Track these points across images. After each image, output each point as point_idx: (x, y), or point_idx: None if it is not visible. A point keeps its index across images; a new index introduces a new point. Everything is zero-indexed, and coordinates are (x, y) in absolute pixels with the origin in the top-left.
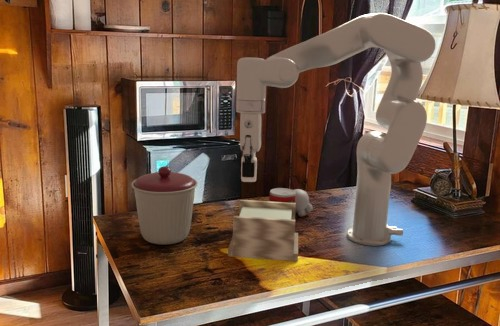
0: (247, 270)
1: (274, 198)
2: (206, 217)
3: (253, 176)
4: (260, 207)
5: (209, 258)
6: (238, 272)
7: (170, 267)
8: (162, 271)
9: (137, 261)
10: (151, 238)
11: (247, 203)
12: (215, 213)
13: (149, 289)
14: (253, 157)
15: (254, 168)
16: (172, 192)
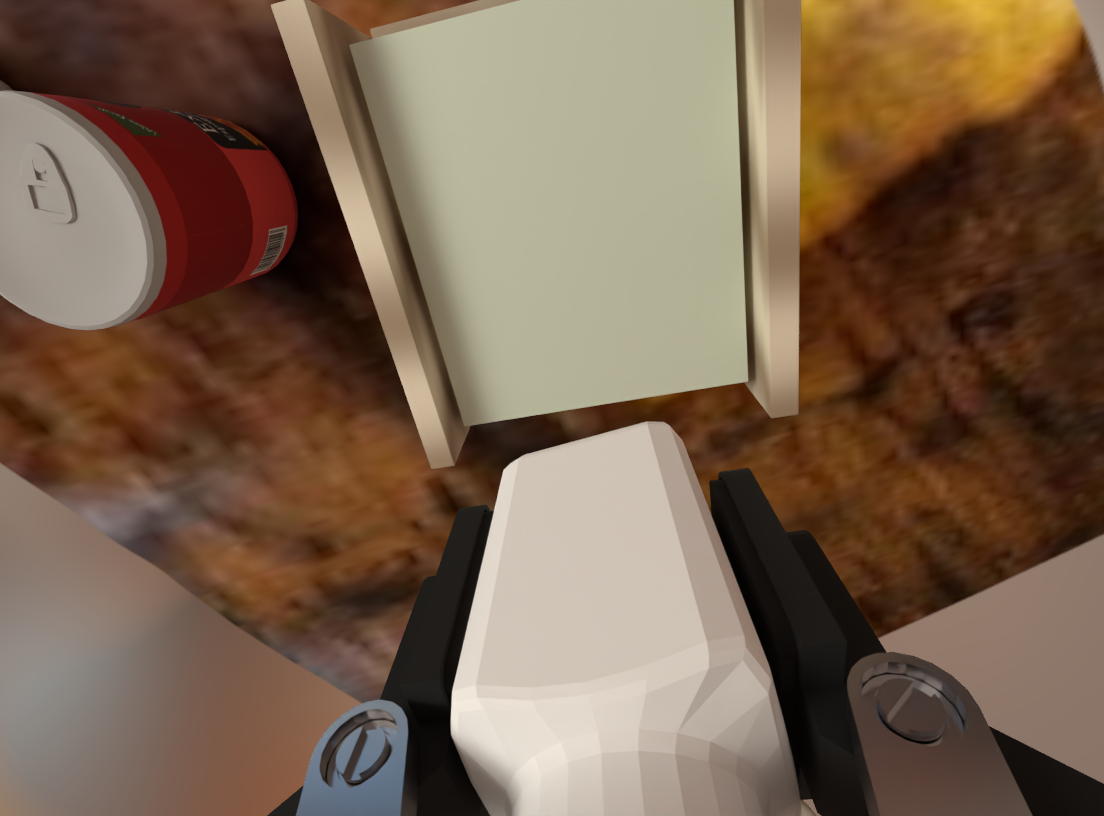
0: (862, 218)
1: (181, 265)
2: (347, 550)
3: (751, 474)
4: (430, 312)
5: (761, 412)
6: (888, 253)
7: (867, 510)
8: (904, 522)
9: None
10: None
11: (443, 408)
12: (282, 534)
13: (1050, 510)
14: (982, 794)
15: (721, 547)
16: (810, 812)
